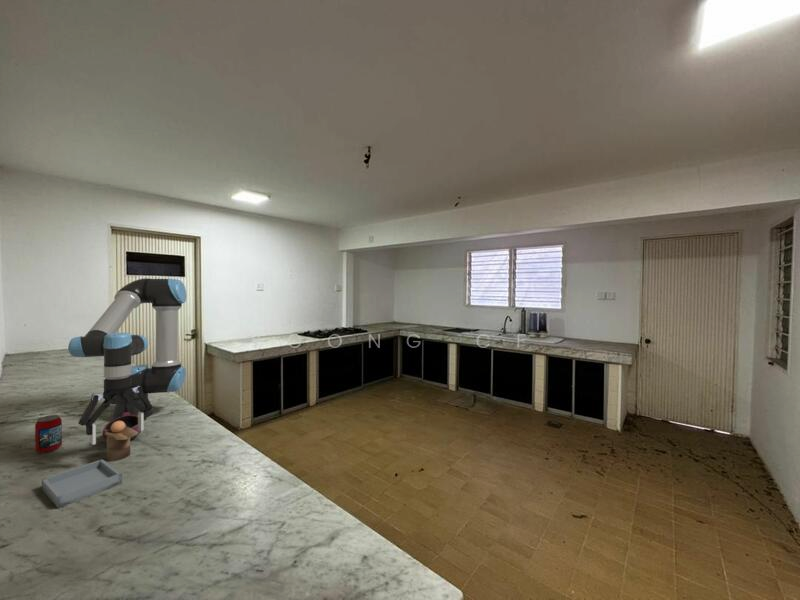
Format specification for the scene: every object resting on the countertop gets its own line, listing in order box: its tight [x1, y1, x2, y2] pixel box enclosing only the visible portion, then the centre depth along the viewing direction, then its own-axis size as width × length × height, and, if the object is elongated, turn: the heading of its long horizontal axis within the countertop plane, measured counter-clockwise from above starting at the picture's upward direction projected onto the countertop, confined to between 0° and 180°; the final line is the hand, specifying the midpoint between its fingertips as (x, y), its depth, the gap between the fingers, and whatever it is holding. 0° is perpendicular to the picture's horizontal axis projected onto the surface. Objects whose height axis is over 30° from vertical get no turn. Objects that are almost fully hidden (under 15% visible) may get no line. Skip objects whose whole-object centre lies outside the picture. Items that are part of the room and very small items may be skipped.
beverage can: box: [34, 414, 63, 454], centre depth 122 cm, size 7×7×12 cm
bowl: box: [101, 412, 142, 442], centre depth 132 cm, size 16×13×8 cm
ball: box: [111, 421, 125, 433], centre depth 118 cm, size 4×4×4 cm
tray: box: [41, 458, 123, 509], centre depth 100 cm, size 14×16×3 cm
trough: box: [105, 425, 138, 462], centre depth 117 cm, size 6×11×10 cm, turn 58°
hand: (118, 436), depth 118 cm, fingers open, 13 cm apart
